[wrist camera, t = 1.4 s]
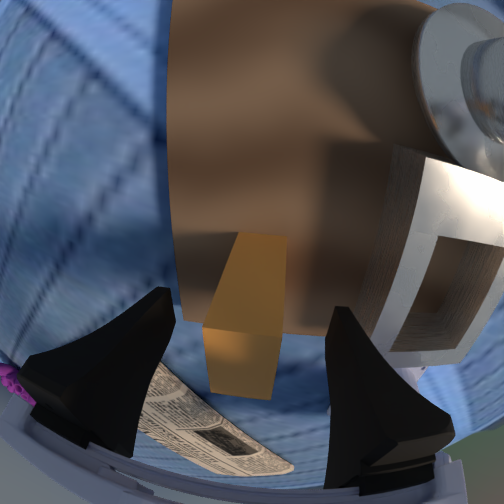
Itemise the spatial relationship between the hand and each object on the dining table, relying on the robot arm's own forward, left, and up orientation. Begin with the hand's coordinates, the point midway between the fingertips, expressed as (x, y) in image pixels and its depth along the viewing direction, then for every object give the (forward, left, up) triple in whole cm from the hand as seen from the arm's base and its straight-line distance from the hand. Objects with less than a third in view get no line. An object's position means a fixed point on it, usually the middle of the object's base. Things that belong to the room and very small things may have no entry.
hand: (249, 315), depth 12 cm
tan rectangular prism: (0, 0, -4) cm, 4 cm away
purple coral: (-36, +50, -6) cm, 62 cm away
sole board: (+5, -6, -6) cm, 10 cm away
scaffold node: (+6, -10, -4) cm, 12 cm away
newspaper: (-30, +9, -6) cm, 32 cm away
